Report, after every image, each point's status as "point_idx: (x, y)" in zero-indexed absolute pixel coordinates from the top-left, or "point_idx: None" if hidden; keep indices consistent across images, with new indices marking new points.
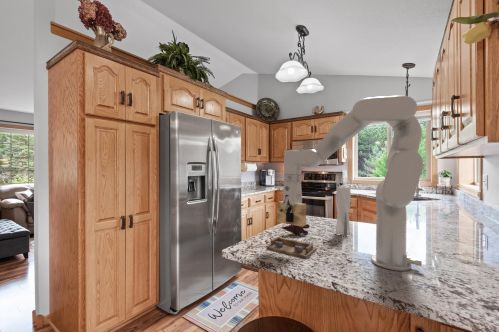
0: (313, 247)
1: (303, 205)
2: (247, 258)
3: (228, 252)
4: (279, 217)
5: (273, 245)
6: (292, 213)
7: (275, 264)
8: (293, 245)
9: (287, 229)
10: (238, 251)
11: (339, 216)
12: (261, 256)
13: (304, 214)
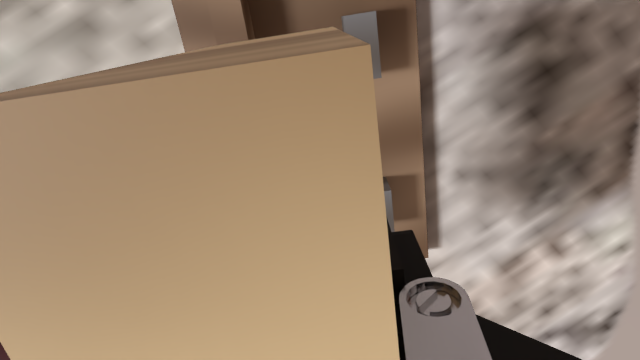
0: (184, 1)
1: (362, 57)
2: (633, 228)
3: (607, 343)
4: None
5: None
6: (403, 274)
7: (634, 50)
8: None
9: None
10: (563, 322)
11: None
12: (558, 193)
13: (270, 40)
